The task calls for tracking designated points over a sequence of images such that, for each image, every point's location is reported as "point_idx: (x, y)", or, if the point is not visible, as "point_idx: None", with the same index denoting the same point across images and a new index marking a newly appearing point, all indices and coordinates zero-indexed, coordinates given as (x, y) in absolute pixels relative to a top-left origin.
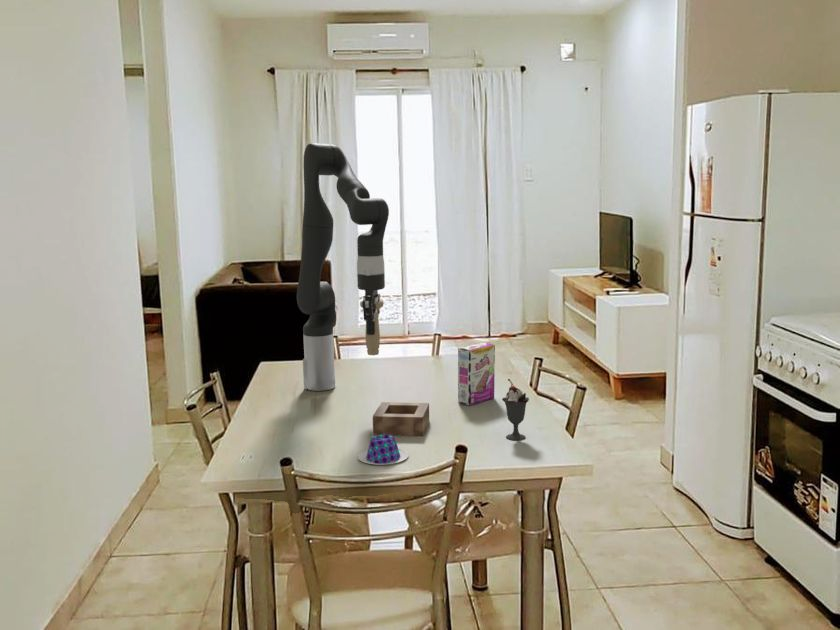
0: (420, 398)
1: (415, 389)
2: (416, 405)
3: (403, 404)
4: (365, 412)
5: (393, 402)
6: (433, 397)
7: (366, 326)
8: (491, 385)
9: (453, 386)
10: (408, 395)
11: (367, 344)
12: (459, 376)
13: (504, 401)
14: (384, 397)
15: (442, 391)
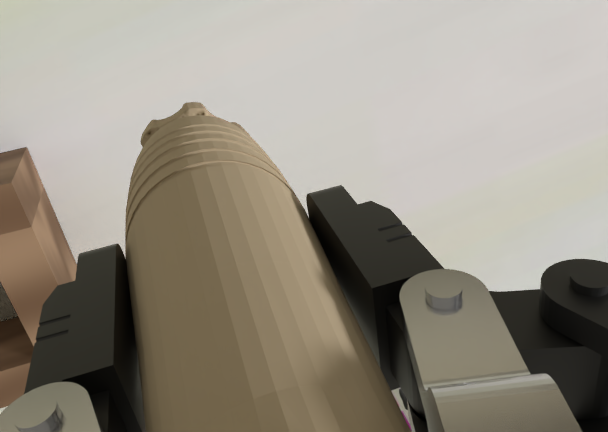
0: (401, 171)
1: (532, 98)
2: None
3: (23, 297)
4: (116, 10)
5: (35, 240)
6: (421, 213)
7: (70, 317)
8: None
9: (571, 222)
10: (440, 105)
11: (137, 165)
12: (397, 402)
13: None
14: (397, 4)
15: (505, 212)
